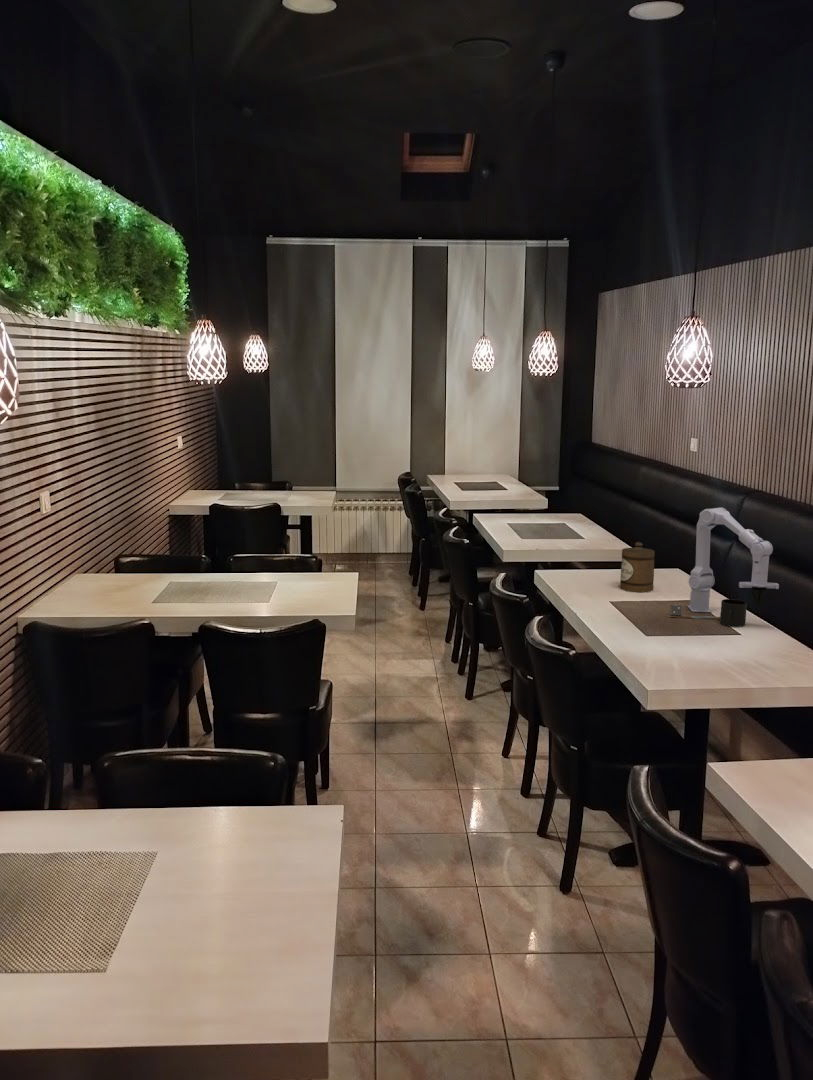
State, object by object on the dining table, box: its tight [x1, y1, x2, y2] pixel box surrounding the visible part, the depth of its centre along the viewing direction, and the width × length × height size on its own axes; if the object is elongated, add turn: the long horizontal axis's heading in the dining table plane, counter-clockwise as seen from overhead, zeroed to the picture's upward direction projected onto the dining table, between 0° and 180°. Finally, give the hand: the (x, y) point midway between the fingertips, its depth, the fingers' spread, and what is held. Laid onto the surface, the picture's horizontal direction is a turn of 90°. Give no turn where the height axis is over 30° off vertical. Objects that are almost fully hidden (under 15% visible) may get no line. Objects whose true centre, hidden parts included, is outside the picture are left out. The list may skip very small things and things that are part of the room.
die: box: [669, 604, 683, 615], centre depth 353 cm, size 4×4×4 cm
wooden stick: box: [665, 614, 720, 621], centre depth 351 cm, size 2×28×1 cm, turn 83°
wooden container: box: [619, 541, 656, 593], centre depth 398 cm, size 15×15×22 cm
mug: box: [719, 598, 748, 628], centre depth 341 cm, size 9×12×9 cm
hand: (757, 605), depth 340 cm, fingers closed
